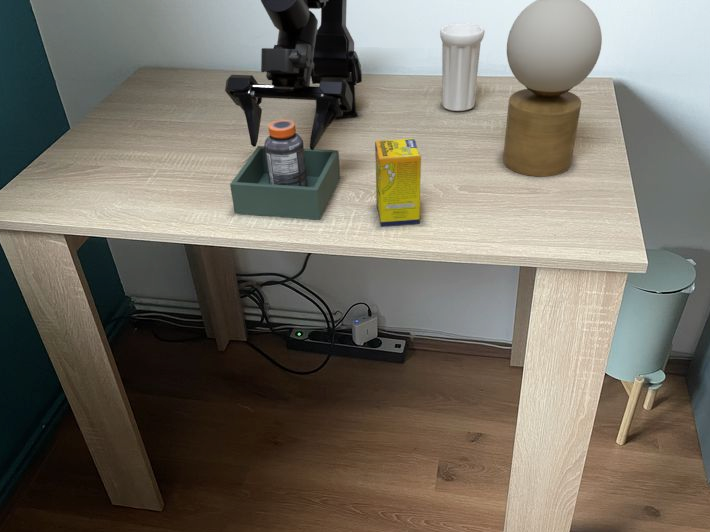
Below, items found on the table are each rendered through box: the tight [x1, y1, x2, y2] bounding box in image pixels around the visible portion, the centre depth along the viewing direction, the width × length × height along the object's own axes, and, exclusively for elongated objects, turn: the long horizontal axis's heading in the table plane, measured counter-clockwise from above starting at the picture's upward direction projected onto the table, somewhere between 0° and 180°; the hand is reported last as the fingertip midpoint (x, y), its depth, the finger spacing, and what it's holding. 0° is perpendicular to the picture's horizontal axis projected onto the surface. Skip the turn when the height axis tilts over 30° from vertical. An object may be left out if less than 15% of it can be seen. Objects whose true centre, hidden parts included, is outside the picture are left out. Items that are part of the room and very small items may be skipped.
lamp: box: [502, 0, 603, 177], centre depth 115 cm, size 15×14×25 cm
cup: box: [439, 22, 486, 112], centre depth 137 cm, size 8×8×14 cm
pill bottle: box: [263, 119, 307, 187], centre depth 112 cm, size 6×6×11 cm
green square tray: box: [229, 145, 341, 221], centre depth 114 cm, size 14×14×5 cm
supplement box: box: [374, 137, 422, 228], centre depth 106 cm, size 6×6×11 cm
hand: (282, 147), depth 110 cm, fingers open, 9 cm apart
